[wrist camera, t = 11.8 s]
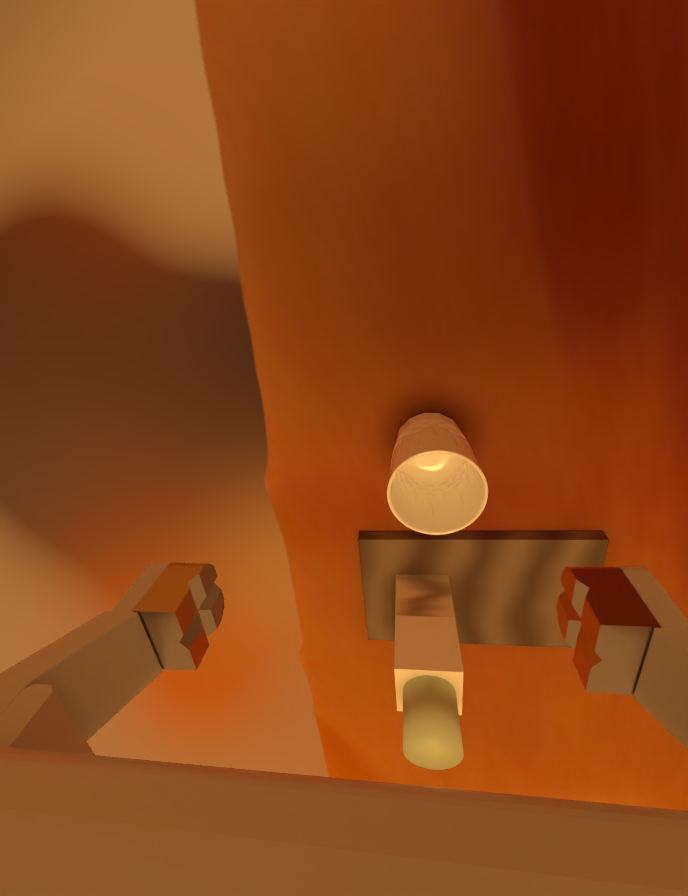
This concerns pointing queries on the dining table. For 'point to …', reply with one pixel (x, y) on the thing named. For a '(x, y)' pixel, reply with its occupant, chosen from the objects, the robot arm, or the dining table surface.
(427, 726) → the green cylinder
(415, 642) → the tower top block
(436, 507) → the white cup
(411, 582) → the tower base block
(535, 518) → the dining table surface
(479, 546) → the walnut board
